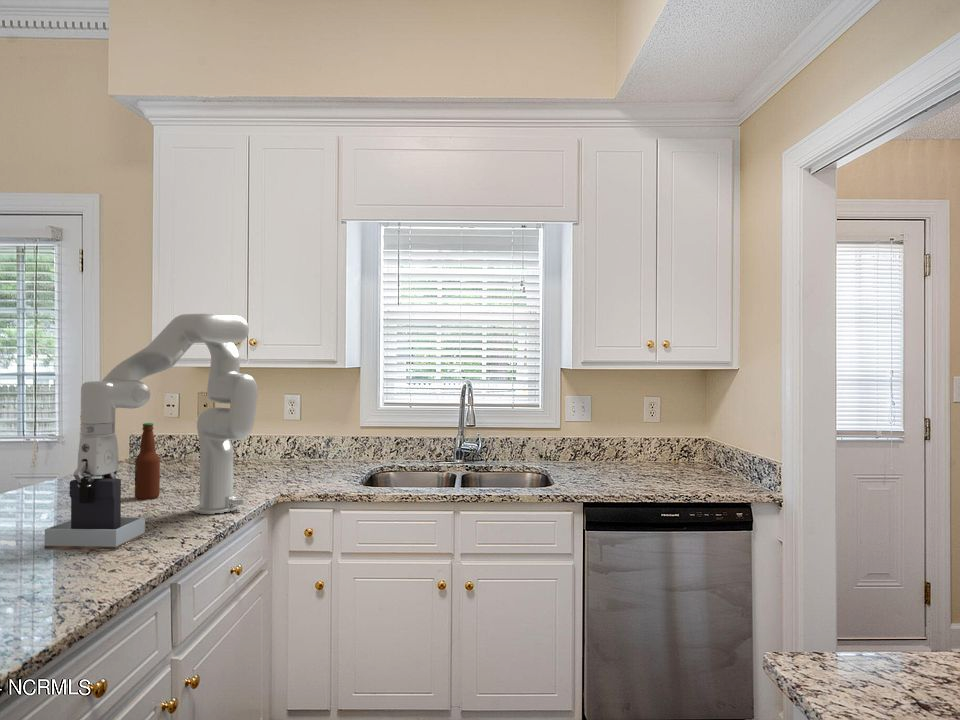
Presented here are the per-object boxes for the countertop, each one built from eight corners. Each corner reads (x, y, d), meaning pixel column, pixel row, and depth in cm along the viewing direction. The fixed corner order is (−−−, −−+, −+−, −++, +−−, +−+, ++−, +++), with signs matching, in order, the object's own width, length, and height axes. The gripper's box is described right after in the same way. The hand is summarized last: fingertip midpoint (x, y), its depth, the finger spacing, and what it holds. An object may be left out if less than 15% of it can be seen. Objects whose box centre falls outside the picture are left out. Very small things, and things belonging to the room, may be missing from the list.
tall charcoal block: (122, 536, 159) (123, 477, 158) (112, 541, 154) (112, 481, 154) (80, 535, 159) (80, 477, 159) (68, 540, 154) (69, 480, 154)
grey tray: (144, 532, 163) (145, 517, 163) (116, 546, 151) (116, 530, 151) (78, 531, 164) (79, 516, 164) (44, 545, 151) (44, 529, 151)
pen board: (144, 535, 163) (144, 532, 163) (115, 550, 151) (116, 546, 151) (78, 534, 164) (78, 531, 164) (44, 548, 151) (44, 545, 151)
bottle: (153, 494, 212) (154, 421, 213) (163, 497, 208) (164, 423, 208) (130, 498, 207) (131, 423, 207) (140, 501, 202) (141, 424, 202)
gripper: (90, 434, 148) (89, 507, 148) (132, 426, 166) (131, 492, 166) (59, 433, 149) (58, 507, 149) (104, 426, 166) (103, 492, 166)
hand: (97, 498), depth 157 cm, fingers open, 7 cm apart
